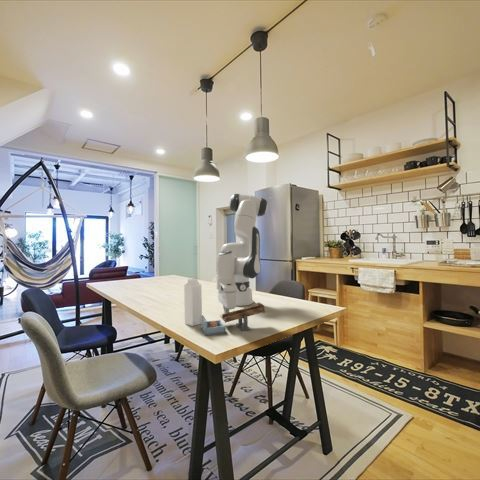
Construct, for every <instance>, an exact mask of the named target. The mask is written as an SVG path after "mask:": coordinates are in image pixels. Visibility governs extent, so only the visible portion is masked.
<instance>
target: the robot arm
mask: <svg viewBox="0 0 480 480" xmlns="http://www.w3.org/2000/svg"><path fill="white" fill-rule="evenodd" d="M228 203H229V204H228V205H229V209H230V210H231V211H232V212H234V213H235V218H234V223H233V224H234V225H233V226H234V234H235V235H236V237H238V238H239V242H228V243H225V244H222V246H221V248H220V252H218V254H217V256H216V262H215V263H216V266H215V268H216V290H217V291H218V292H217V301H218V302H219V303H221V305H222V308H223V313H224V314H225V313H229V312H230V310H233V309H236V307H238V306H240V307H241V306H243V307H244V306H249V305H250V306H251V305H252V304H253V303H254V304H255V300H254V299H253V291H252V289H251V288H250V285H251V283H250V281H249V280H250V279H252V280H253V279H255V278H257V276H259V274H260V273H261V269H262V268H261V261H260V260H261V257H260V253H261V252H260V249H261V247H260V245H261V240H260V239H261V238H260V237H261V236H260V235H261V234H260V231H259V228H258V227H257V226H256V221H257V217H263V216H264V215H265V214H266V212H267V211H268V207H269V205H268V201H267V199H266V198H263V197H258V196H256V195H252V194H251V195H249V194H240V193H234V194H232V196H231V197H230V198H229V202H228Z"/></svg>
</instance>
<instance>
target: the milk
mask: <svg viewBox="0 0 480 480" xmlns="http://www.w3.org/2000/svg"><path fill="white" fill-rule="evenodd" d="M183 293H184V297H183V298H184V324H185V325H187V326H191V327H193V326H194V327H195V326H197V325H201V316H202V315H203V311H202V310H203V307H202V303H203V302H202V301H203V298H202V284H201V283H200V282H199V280H198V278H197V277H196V278H195V277H194V278H188V279H187V283H185V284H184V286H183Z"/></svg>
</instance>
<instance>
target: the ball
mask: <svg viewBox="0 0 480 480" xmlns="http://www.w3.org/2000/svg"><path fill="white" fill-rule="evenodd" d="M211 321H212V322H210V324H209V326H210V327H217V323H216V322H215V321H216V320H211Z"/></svg>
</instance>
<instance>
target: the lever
mask: <svg viewBox="0 0 480 480" xmlns="http://www.w3.org/2000/svg"><path fill="white" fill-rule="evenodd" d="M265 309H266V308H265V305H264V304H263V303H261V302H257V305H252V306H249V307H243V308H241V309H237V310H233V311H229V313H225V314H224V312H223V313H221V314H220V313H219V317H220V318H221V319H222V320H223V322H224V323H230V322H233V321H238V319H240V318H242V319H243V315H247V317H248V318H249V317H252V316H254V315H258V314H262V313H263V314H264V313H266V310H265Z"/></svg>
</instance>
